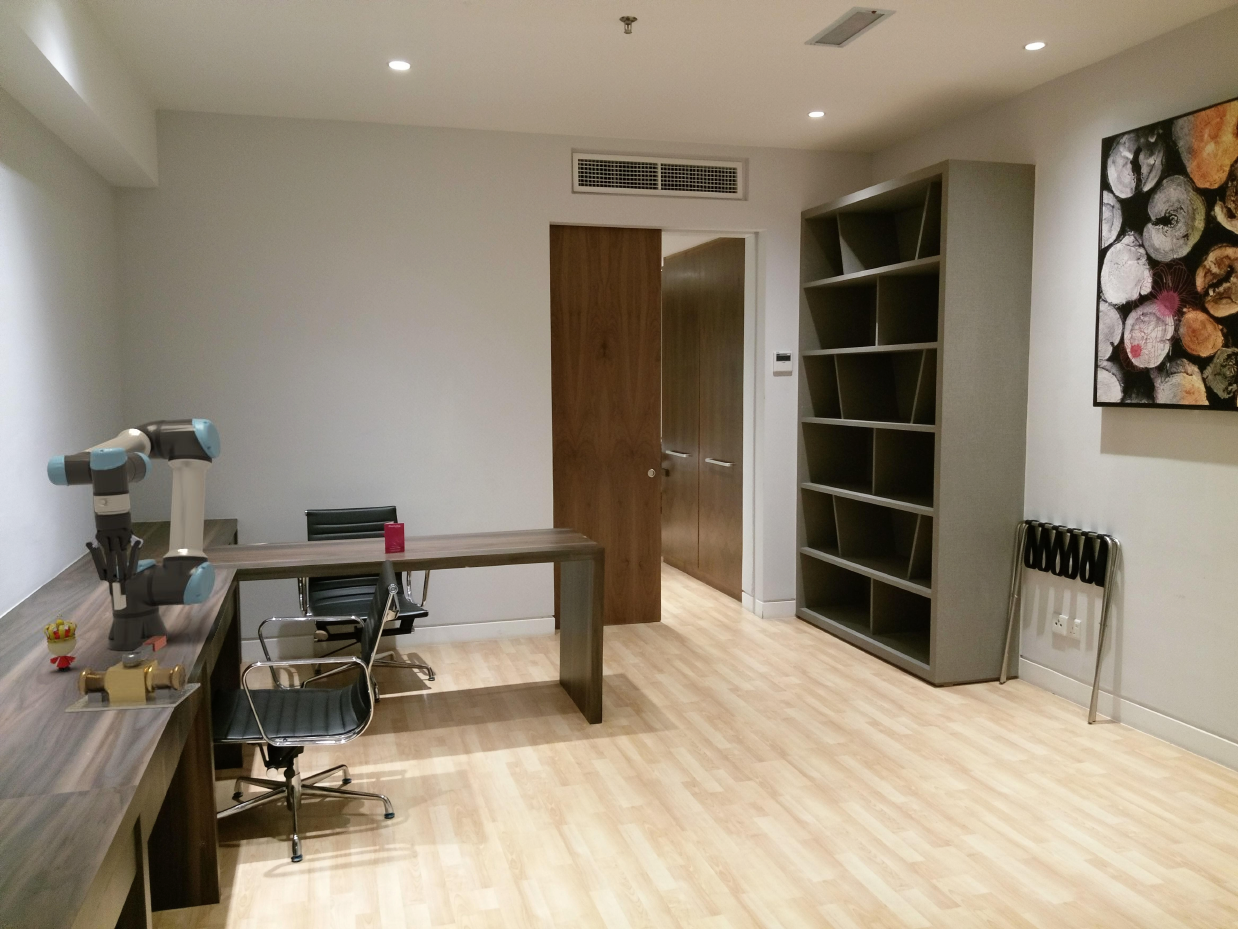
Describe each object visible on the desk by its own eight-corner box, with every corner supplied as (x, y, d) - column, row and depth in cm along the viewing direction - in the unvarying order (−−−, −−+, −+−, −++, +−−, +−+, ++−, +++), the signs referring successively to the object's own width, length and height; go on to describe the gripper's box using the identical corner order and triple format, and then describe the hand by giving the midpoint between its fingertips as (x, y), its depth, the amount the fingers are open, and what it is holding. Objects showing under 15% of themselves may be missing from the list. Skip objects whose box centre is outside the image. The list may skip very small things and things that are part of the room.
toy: (85, 665, 231) (80, 609, 230) (73, 674, 224) (68, 616, 223) (55, 667, 230) (50, 611, 229) (42, 676, 223) (37, 618, 222)
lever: (137, 666, 202) (136, 656, 202) (119, 666, 202) (118, 657, 202) (168, 644, 219) (168, 635, 219) (152, 645, 219) (151, 636, 218)
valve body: (65, 712, 197) (62, 677, 197) (97, 690, 211) (95, 658, 211) (175, 706, 199) (172, 672, 198) (200, 685, 213) (197, 653, 212)
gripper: (76, 515, 207) (84, 613, 209) (133, 513, 208) (140, 611, 210) (93, 510, 215) (100, 605, 217) (148, 508, 216) (155, 603, 218)
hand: (120, 608), depth 214 cm, fingers closed
